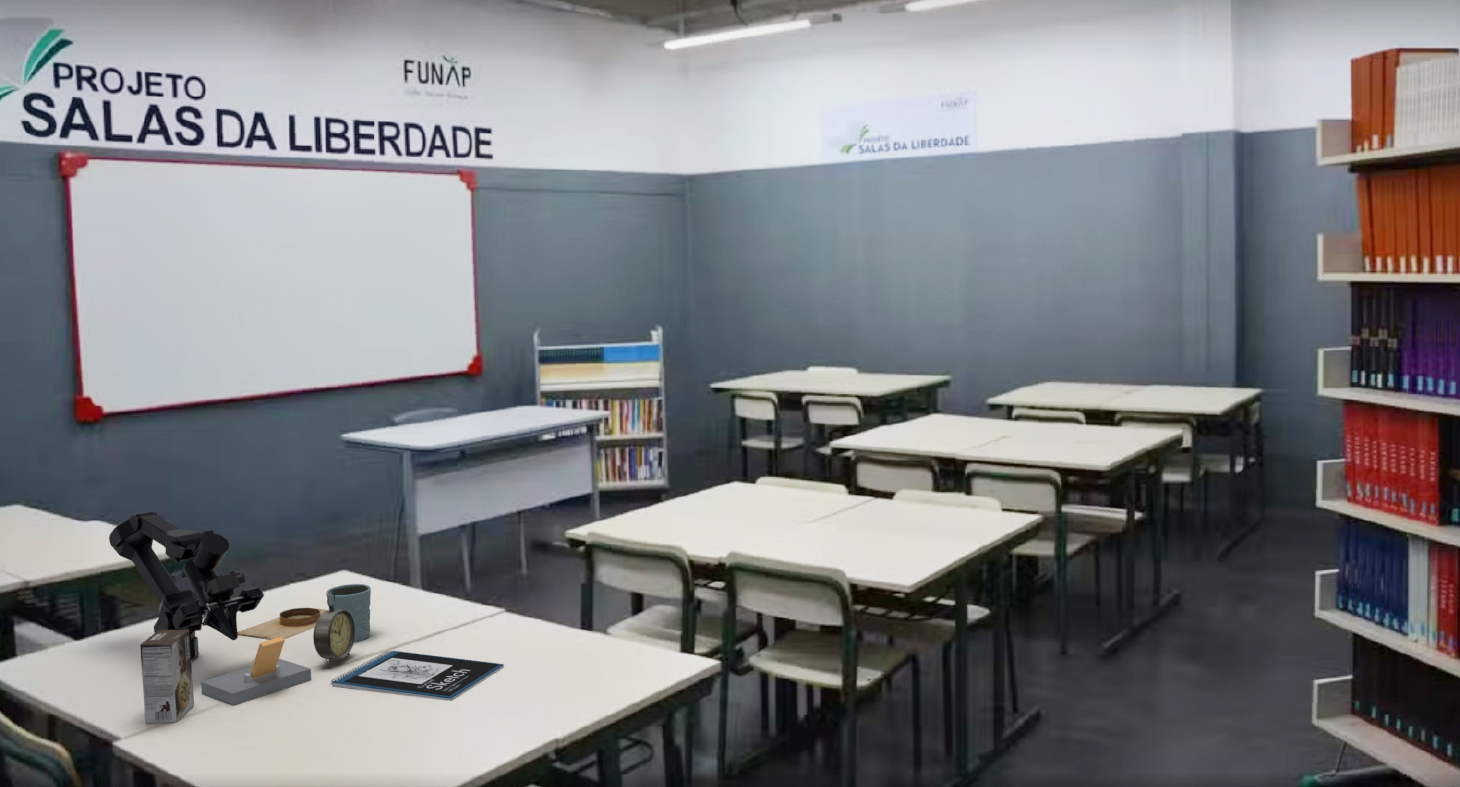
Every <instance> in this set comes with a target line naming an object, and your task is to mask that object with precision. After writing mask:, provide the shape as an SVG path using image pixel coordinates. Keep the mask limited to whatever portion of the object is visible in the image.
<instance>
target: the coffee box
mask: <svg viewBox="0 0 1460 787" xmlns="http://www.w3.org/2000/svg"><path fill="white" fill-rule="evenodd" d="M139 647H140V659H141V660H140V661H141V662H140V663H141V676H142V691H143V703H144V704H143V705H144V722H145V723H146V724H160V723H162V724H164V723H165V724H166V723H177V722H179V721H180V720H181V719H182V718H183V717H184V716H185V714H188V712H189V711H190V710H191V709H192V708H193V707H194V706H195V696H194V681H193V667H192V666H193V665H192V661H191V651H190V637H189V630H159V631H157V632H156V633H155V632H154V633H153V634H152V635H150V636H149V637H148V638H147V639H146V640H144V641H143V642H142V643H141V644H139Z"/></svg>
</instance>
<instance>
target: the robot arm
mask: <svg viewBox="0 0 1460 787" xmlns="http://www.w3.org/2000/svg"><path fill="white" fill-rule="evenodd" d="M108 539H109V541H108V542H109V545H110V546H111V547H112V548H113V550H114V551H115V552H116V553H117V554H118V555H119V556H120V558H121V557H122V558H123V559H126V560H129V561H131V562H132V563H133V564H134V566H135V567H136V570H138V573H139V574H140V576H141V577H142V578H143V581H144V582H145V584H146V585H147V586H148V588H149V590H150V591H151V593H152V594H153V596H154V598H156V601H157V602H158V604H159V608H158V613H157V616H158V619H157V620H156V622H155V623H154V624H153V631H154V633H156V632H157V631H159V630H189V637H190V651H191V662H193V661H194V660H195V658H196V657H198V655H200V653H199V652H200V651H199V637H198V636H196V632H198V631H199V632H200V631H202V628H203V626H204V627H205V626H207V627H210V628H212V629H214V630H215V631H217V632H219V633H221V634H222V635H223V636H225V637H227V638H228V639H230V640H231V641H236V640H237V639H238V637H239V635H238V632H239V631H238V624H237V622H238V621H237V613H238V612H241V613H243V614H244V613H247V612H250V611H253V610H255V609H256V608H257V607H258V606H259V605H260V602H261V601H262V599H263V598H264V596H265V593H264V591H263V590H262V589H261V588H260V587H258V586H254V587H250V588H246V589H242V590H241V592H240V593H239V595H238V596H237V597H233V598H231V596H233V595H234V593H235V589H236V588H240V587H241V585H242V584H243V583H245V582H246V577H245V574H244V572H243V571H242V569H241V568H237V569H234V570H232V571H230V572H229V574H224V575H222V574H221V575H219V574H218V572H217V571H216V568H217V567H218V566H219V565H220V564H221V563H222V560H223V559H224V557H225V555H226V554H227V552H228V550H229V549H230V543H229V540H228V539H227V538H225V537H224V536H223V535H221V534H218V533H215V532H214V530H213V529H210V530H204V531H203V532H202V533H201V532H199V531H196V530H192V529H182V528H179V527H178V526H175V525H174V524H172V523H171V522H169V521H167V520H165V519H164V518H162V517H160V516H159V515H158V513H157V512H156V511H151V510H150V511H144V512H140V513H139V512H138V513H135V514H133V515H131V517H129V518H128V519H126V520H125V521H124V522H122V523H120V524H118V525H116V526H115V527H114V528H113V530H112V531H111V532H110V534H109V537H108ZM154 541H155V542H156V543H158V544H160V545H161V546H163V547H164V548H165V555H166V556H167V557H168V558H169V559H170V560H172V562H174V563H178V562H183V561H186V563H185V564H184V565H182V570H181V573H180V577H181V578H182V579H184V578H187V581H188V582H189V584H190V586H191V588H192V590H193V591H192V590H191V589H186V590H180V588H179V587H178V585H177V584H176V583H175V582H174V580H173V578H172V576H171V575H170V573H169V572H168V571H167V569H166V568H165V566H164V565H163V563H162V562H161V560H160V559H159V557H158V555H157V553H156V552H155V551H154V549H153V543H154Z"/></svg>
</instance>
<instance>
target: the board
mask: <svg viewBox="0 0 1460 787" xmlns="http://www.w3.org/2000/svg"><path fill="white" fill-rule="evenodd" d="M327 610H328V609H324V608H323V609H322V608H315V607H295V608H290V609H286V610H282V611H281V612H279V617H275V618H273V619H271V620H268V621H265V622H262V623H259V624H257V625H254V626H251V627H247V628H245V629H241V630H238V631H237V632H238V637H239V636H240V637H247V638H253V639H262V640H266V641H268V640H271V639H275V638H278V637H283V639H284V640H286V639H290V638H291V637H292V638H293V637H294V636H296V635H299V634H301V633H304V632H306V631H310V630H312V629H314V628H315V624H316V622H317V620H318V618H319V617H320V615H321V614H322V613H323V612H325V611H327Z"/></svg>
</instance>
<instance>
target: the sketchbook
mask: <svg viewBox="0 0 1460 787" xmlns="http://www.w3.org/2000/svg"><path fill="white" fill-rule="evenodd" d="M504 666H505V665H504V663H497V662H489V661H481V660H480V661H479V660H472V659H464V658H457V657H449V656H448V657H447V656H441V655H440V656H439V655H432V654H431V655H430V654H424V653H423V654H422V653H416V652H406V651H398V650H391V649H387V650H386V651H384V652H382V653H380V654H378V655H377V656H374V657H373V658H370V659H369V660H367V661H365V662H363V663H361V664H360V665H358V666H355V667H353V668H352V669H350V670H348V671H346V672H344V673H342V674H340V675H337V676H335V677H333V678H332V679H331V680H330V685H331V686H332V687H334V688H342V689H351V690H359V691H360V690H361V691H367V692H375V693H384V694H393V695H399V696H408V697H409V696H410V697H416V698H426V699H434V700H442V701H451V702H452V701H453V700H454V699H456V698H458V697H459V696H461V695H462V694H464V693H465V692H467V691H468V690H471V689H472V688H473V687H475V686H476V685H478V684H480V683H481V682H483V681H484V680H486V679H487V678H488V677H490V676H492V675H493V674H495V673H497V672H498V671H500V670H501V669H502V668H504Z"/></svg>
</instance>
